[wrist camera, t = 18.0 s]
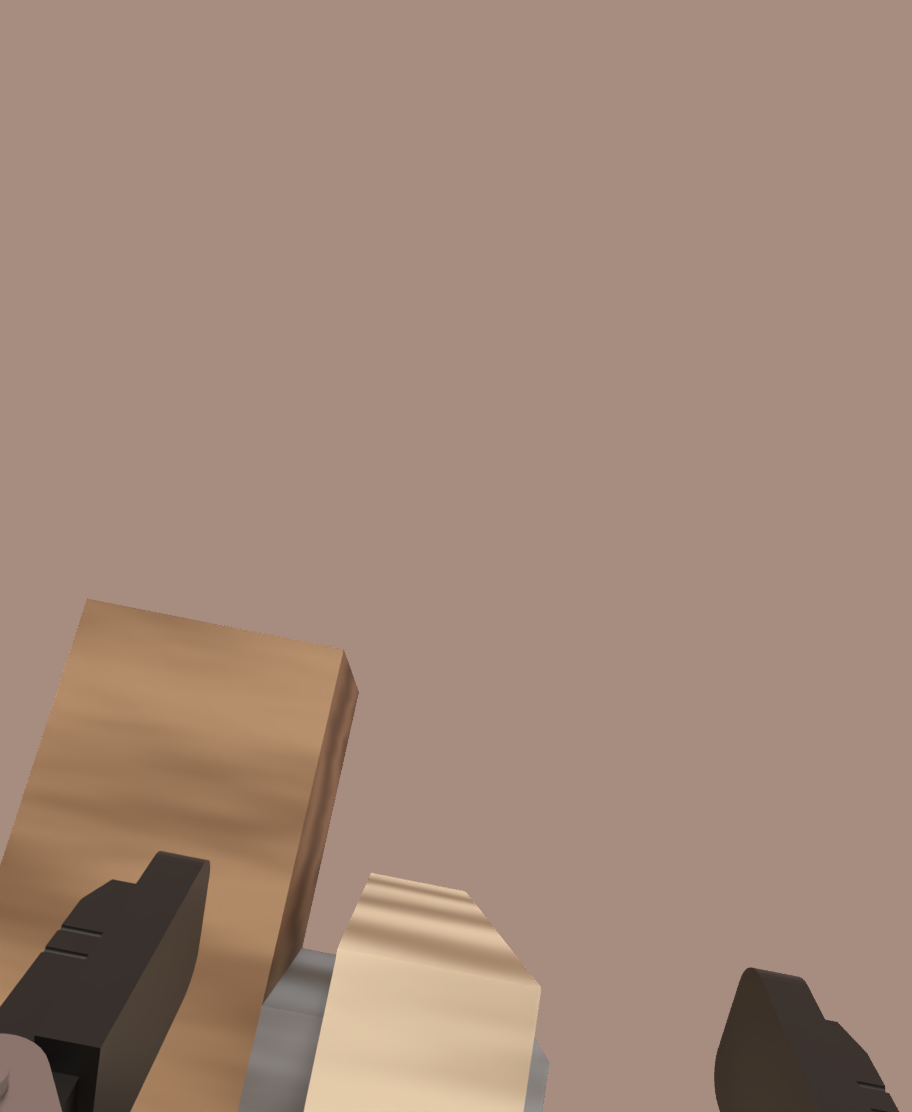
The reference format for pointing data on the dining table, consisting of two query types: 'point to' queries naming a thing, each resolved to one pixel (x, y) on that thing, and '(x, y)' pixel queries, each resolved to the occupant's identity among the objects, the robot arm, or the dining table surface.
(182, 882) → the robot arm
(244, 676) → the stepped stand
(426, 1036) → the birch bar
